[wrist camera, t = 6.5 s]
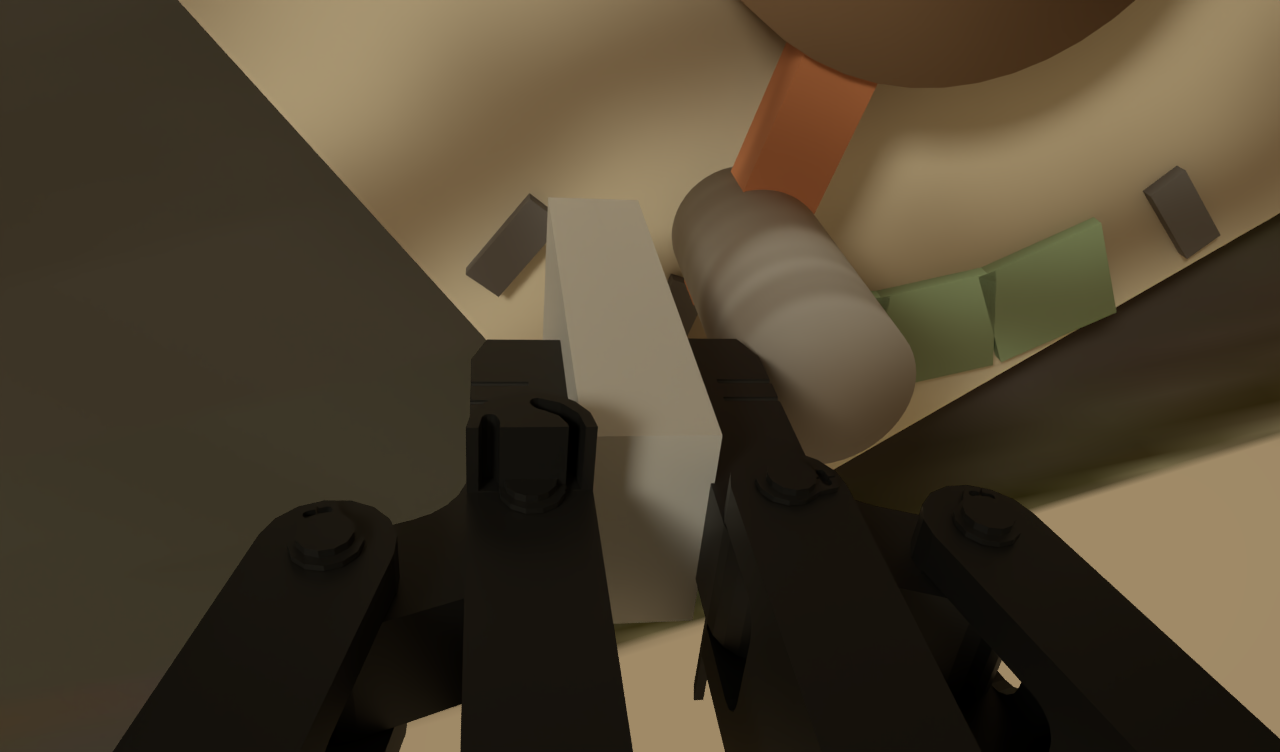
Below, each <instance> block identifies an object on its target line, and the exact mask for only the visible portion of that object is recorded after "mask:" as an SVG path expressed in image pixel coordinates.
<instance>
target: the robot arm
mask: <svg viewBox="0 0 1280 752" xmlns="http://www.w3.org/2000/svg"><path fill="white" fill-rule="evenodd" d="M466 477H467V481H466V484H465V486H464V487H463V489H462V491H461V492H460V494H459V495H458V496H457V497H456V498H455V499H453V500H452V501H451V502H450V503H449V504H448V505H446V506H444V507H443V508H441V509H439V510H437V511H435V512H434V513H432V514H429V515H426V516H423V517H420V518H417V519H414V520H411V521H407V522H403V523H399V524H395V525H392V523H391V520H390V519H389V518H388V517H386V516H385V515H384V514H382V513H381V512H380V511H378V510H377V509H376V508H374V507H372V506H368V505H364V504H361V503H357V502H354V501H320V502H316V503H312V504H307V505H303V506H299V507H297V508H295V509H293V510H291V511H289V512H287V513H285V514H283V515H281V516H279V517H277V518H275V519H274V520H273V521H272V522H271V523H270V524H269V525H268V526H267V527H266V528H265V529H264V530H263V531H262V532H261V533H260V534H259V535H258V537H257V538H256V540H255V541H254V543H253V544H252V546H251V547H250V548H249V550H248V551H247V553H246V554H245V556H244V557H243V559H242V560H241V562H240V563H239V565H238V566H237V568H236V569H235V571H234V572H233V574H232V575H231V577H230V578H229V580H228V581H227V583H226V584H225V586H224V587H223V589H222V590H221V592H220V593H219V595H218V596H217V598H216V599H215V601H214V602H213V603H212V605H211V606H210V608H209V609H208V611H207V612H206V614H205V615H204V617H203V618H202V620H201V621H200V623H199V624H198V626H197V627H196V629H195V630H194V632H193V633H192V635H191V636H190V638H189V639H188V641H187V642H186V644H185V645H184V647H183V648H182V650H181V651H180V653H179V654H178V656H177V657H176V659H175V660H174V661H173V663H172V664H171V666H170V667H169V669H168V670H167V672H166V673H165V675H164V676H163V678H162V679H161V681H160V682H159V684H158V685H157V687H156V688H155V690H154V691H153V693H152V694H151V696H150V697H149V699H148V700H147V702H146V703H145V705H144V706H143V708H142V709H141V711H140V712H139V714H138V715H137V716H136V718H135V719H134V721H133V722H132V724H131V725H130V727H129V728H128V730H127V731H126V733H125V734H124V736H123V737H122V739H121V740H120V742H119V743H118V745H117V746H116V748H115V749H114V751H113V752H399V750H400V747H401V744H402V742H403V739H404V737H405V734H406V727H407V723H408V722H411V721H414V720H416V719H419V718H422V717H425V716H428V715H431V714H434V713H437V712H440V711H443V710H446V709H448V708H451V707H454V706H457V705H460V704H462V712H461V715H462V716H461V752H633V749H632V743H631V736H630V729H629V723H628V717H627V711H626V704H625V697H624V690H623V683H622V677H621V670H620V664H619V657H618V651H617V644H616V638H615V631H614V623H642V622H666V621H690V620H693V613H694V607H695V601H696V595H697V589H698V591H699V595H700V598H701V602H702V606H703V610H704V614H705V617H706V618H705V624H704V629H703V635H702V641H701V647H700V653H699V659H698V664H697V670H696V676H695V682H694V700H703V697H704V692H705V686H706V681H707V680H708V684H709V688H710V692H711V696H712V700H713V704H714V708H715V712H716V717H717V720H718V725H719V729H720V733H721V737H722V741H723V745H724V749H725V752H1280V739H1279V738H1278V737H1277V736H1276V735H1275V734H1274V733H1273V732H1272V731H1271V730H1270V729H1268V728H1267V727H1266V726H1265V725H1264V724H1263V723H1262V722H1261V721H1260V720H1259V719H1258V718H1256V717H1255V716H1254V715H1253V714H1252V713H1251V712H1250V711H1249V710H1248V709H1247V708H1246V707H1244V706H1243V705H1242V704H1241V703H1240V702H1239V701H1238V700H1237V699H1236V698H1235V697H1234V696H1232V695H1231V694H1230V693H1229V692H1228V691H1227V690H1226V689H1225V688H1224V687H1223V686H1221V685H1220V684H1219V683H1218V682H1217V681H1216V680H1215V679H1214V678H1213V677H1212V676H1210V675H1209V674H1208V673H1207V672H1206V671H1205V670H1204V669H1203V668H1202V667H1201V666H1200V665H1199V664H1197V663H1196V662H1195V661H1194V660H1193V659H1192V658H1191V657H1190V656H1189V655H1188V654H1186V653H1185V652H1184V651H1183V650H1182V649H1181V648H1180V647H1179V646H1178V645H1177V644H1176V643H1175V642H1173V641H1172V640H1171V639H1170V638H1169V637H1168V636H1167V635H1166V634H1164V632H1162V631H1161V630H1160V629H1159V628H1158V627H1157V626H1156V625H1155V624H1154V623H1153V622H1152V621H1150V620H1149V619H1148V618H1147V617H1146V616H1145V615H1144V614H1143V613H1142V612H1141V611H1140V610H1138V609H1137V608H1136V607H1135V606H1134V605H1133V604H1132V603H1131V602H1130V601H1129V600H1127V599H1126V598H1125V597H1124V596H1123V595H1122V594H1121V593H1120V592H1119V591H1118V590H1117V589H1115V588H1114V587H1113V586H1112V585H1111V584H1110V583H1109V582H1108V581H1107V580H1106V579H1105V578H1103V577H1102V576H1101V575H1100V574H1099V573H1098V572H1097V571H1096V570H1095V569H1094V568H1093V567H1091V566H1090V565H1089V564H1088V563H1087V562H1086V561H1085V560H1084V559H1083V558H1082V557H1080V556H1079V555H1078V554H1077V553H1076V552H1075V551H1074V550H1073V549H1072V548H1070V547H1069V546H1068V545H1067V544H1066V543H1065V542H1064V541H1063V540H1062V539H1061V538H1060V537H1059V536H1058V535H1056V534H1055V533H1054V532H1053V531H1052V530H1051V529H1050V528H1049V527H1048V526H1047V525H1045V524H1044V523H1043V522H1042V521H1041V520H1040V519H1039V518H1038V517H1037V516H1036V515H1035V514H1034V513H1032V512H1031V511H1029V510H1028V509H1027V508H1025V507H1024V506H1022V505H1021V504H1020V503H1018V502H1017V501H1015V500H1014V499H1012V498H1009V497H1007V496H1004V495H1002V494H1000V493H997V492H995V491H993V490H989V489H984V488H979V487H974V486H969V485H962V486H946V487H944V488H941V489H939V490H936V491H934V492H931V493H930V495H929V496H928V497H927V499H926V500H925V502H924V503H923V505H922V508H921V511H920V514H919V515H917V514H912V513H907V512H902V511H897V510H892V509H887V508H882V507H877V506H873V505H870V504H866V503H863V502H859V501H857V500H854V499H853V497H852V495H851V493H850V491H849V489H848V487H847V485H846V484H845V482H844V481H843V480H842V479H841V477H840V476H839V475H838V474H837V472H836V471H834V470H833V469H831V468H830V467H828V466H827V465H825V464H824V463H822V462H820V461H819V460H817V459H814V458H811V457H808V456H806V455H805V453H804V451H803V449H802V447H801V445H800V443H799V440H798V438H797V436H796V434H795V432H794V430H793V428H792V426H791V423H790V421H789V419H788V417H787V415H786V413H785V411H784V409H783V406H782V404H781V402H780V401H778V396H777V394H776V392H775V389H774V387H773V385H772V383H770V379H769V377H768V375H767V372H766V370H765V368H764V366H763V364H762V362H761V360H760V358H759V357H758V356H757V355H756V354H754V353H753V352H752V351H751V350H750V349H748V348H747V347H746V346H745V345H743V344H742V343H741V342H740V341H739V340H737V339H696V338H687V335H686V332H685V330H684V327H683V324H682V321H681V318H680V316H679V313H678V310H677V307H676V305H675V302H674V299H673V296H672V293H671V291H670V288H669V285H668V282H667V280H666V277H665V274H664V271H663V268H662V266H661V263H660V260H659V257H658V254H657V252H656V249H655V246H654V243H653V241H652V238H651V235H650V232H649V229H648V227H647V224H646V221H645V218H644V215H643V213H642V210H641V207H640V204H639V202H638V200H617V199H586V198H555V197H548V213H547V239H546V265H545V291H544V317H543V340H496V339H487V340H486V342H485V343H484V344H483V345H482V347H481V348H480V349H479V350H478V351H477V353H476V354H475V355H474V356H473V358H472V359H471V394H470V418H469V421H468V424H467V426H466ZM1001 660H1002V661H1003V662H1004V663H1005V664H1006V665H1007V666H1008V667H1009V669H1010V670H1011V671H1012V672H1013V673H1014V674H1015V675H1016V676H1017V678H1018V679H1019V680H1020V681H1021V684H1020V687H1019V688H1015V687H1013V686H1012V685H1011V684H1009V683H1008V682H1007V681H1006V680H1005V679H1004V678H1003V677H1002V676H1001V675H1000V673H999V672H998V671H997V670H998V668H999V666H1000V663H1001Z"/></svg>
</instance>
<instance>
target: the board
mask: <svg viewBox="0 0 1280 752" xmlns="http://www.w3.org/2000/svg"><path fill="white" fill-rule="evenodd" d="M178 1H179V2H180V3H181V4H182V5H183V6H184V7H185V8H186V9H187V10H188V12H189V13H190V14H191V15H192V16H193V17H194V18H195V19H196V20H197V21H198V23H199V24H200V25H201V26H202V27H203V28H204V29H205V30H206V31H207V32H208V34H209V35H210V36H211V37H212V38H213V39H214V40H215V41H216V42H217V43H218V45H219V46H220V47H221V48H222V49H223V50H224V51H225V52H226V53H227V55H228V56H229V57H230V58H231V59H232V60H233V61H234V62H235V63H236V64H237V66H238V67H239V68H240V69H241V70H242V71H243V72H244V73H245V74H246V75H247V77H248V78H249V79H250V80H251V81H252V82H253V83H254V84H255V85H256V86H257V88H258V89H259V90H260V91H261V92H262V93H263V94H264V95H265V96H266V97H267V99H268V100H269V101H270V102H271V103H272V104H273V105H274V106H275V107H276V109H277V110H278V111H279V112H280V113H281V114H282V115H283V116H284V117H285V118H286V120H287V121H288V122H289V123H290V124H291V125H292V126H293V127H294V128H295V129H296V131H297V132H298V133H299V134H300V135H301V136H302V137H303V138H304V139H305V140H306V142H307V143H308V144H309V145H310V146H311V147H312V148H313V149H314V150H315V151H316V153H317V154H318V155H319V156H320V157H321V158H322V159H323V160H324V161H325V163H326V164H327V165H328V166H329V167H330V168H331V169H332V170H333V171H334V172H335V174H336V175H337V176H338V177H339V178H340V179H341V180H342V181H343V182H344V183H345V185H346V186H347V187H348V188H349V189H350V190H351V191H352V192H353V193H354V194H355V196H356V197H357V198H358V199H359V200H360V201H361V202H362V203H363V204H364V205H365V207H366V208H367V209H368V210H369V211H370V212H371V213H372V214H373V215H374V216H375V218H376V219H377V220H378V221H379V222H380V223H381V224H382V225H383V226H384V228H385V229H386V230H387V231H388V232H389V233H390V234H391V235H392V236H393V237H394V239H395V240H396V241H397V242H398V243H399V244H400V245H401V246H402V247H403V248H404V250H405V251H406V252H407V253H408V254H409V255H410V256H411V257H412V258H413V259H414V261H415V262H416V263H417V264H418V265H419V266H420V267H421V268H422V269H423V270H424V272H425V273H426V274H427V275H428V276H429V277H430V278H431V279H432V280H433V282H434V283H435V284H436V285H437V286H438V287H439V288H440V289H441V290H442V291H443V293H444V294H445V295H446V296H447V297H448V298H449V299H450V300H451V301H452V302H453V304H454V305H455V306H456V307H457V308H458V309H459V310H460V311H461V312H462V313H463V315H464V316H465V317H466V318H467V319H468V320H469V321H470V322H471V323H472V324H473V326H474V327H475V328H476V329H477V330H478V331H479V332H480V333H481V334H482V335H483V337H484V338H485V339H486V340H487V339H496V340H543V317H544V291H545V265H546V239H547V213H548V197H555V198H586V199H617V200H638V202H639V204H640V207H641V210H642V213H643V215H644V218H645V221H646V224H647V227H648V229H649V232H650V235H651V238H652V241H653V243H654V246H655V249H656V252H657V254H658V257H659V260H660V263H661V266H662V268H663V271H664V274H665V277H666V280H667V282H668V285H669V288H670V291H671V293H672V296H673V299H674V302H675V305H676V307H677V310H678V313H679V316H680V318H681V321H682V324H683V327H684V330H685V332H686V335H687V338H696V339H707V336H706V334H705V331H704V329H703V326H702V323H701V321H700V318H699V316H698V313H697V311H696V308H695V305H693V303H692V300H691V298H690V295H689V292H688V290H687V287H686V285H685V282H684V277H683V274H682V272H681V269H680V267H679V264H678V262H677V259H676V256H675V254H674V250H673V246H672V226H673V221H674V218H675V215H676V212H677V210H678V208H679V206H680V204H681V202H682V201H683V199H684V198H685V196H686V195H687V194H688V193H689V191H690V190H691V189H692V188H693V187H694V186H695V185H696V184H698V183H699V182H700V181H702V180H703V179H704V178H706V177H707V176H709V175H711V174H713V173H715V172H717V171H720V170H722V169H726V168H729V167H733V165H734V163H735V161H736V158H737V156H738V154H739V151H740V149H741V147H742V144H743V142H744V140H745V137H746V135H747V133H748V130H749V128H750V126H751V123H752V121H753V119H754V116H755V114H756V112H757V109H758V107H759V105H760V102H761V100H762V98H763V95H764V93H765V91H766V88H767V86H768V84H769V81H770V79H771V77H772V74H773V72H774V70H775V68H776V65H777V63H778V61H779V58H780V56H781V54H782V51H783V49H784V47H785V44H786V41H785V40H784V39H782V38H781V37H780V36H779V35H778V34H777V33H776V32H775V31H774V30H772V29H771V28H770V27H769V26H768V25H767V24H766V23H765V22H764V21H762V20H761V19H760V18H759V17H758V16H757V15H756V14H755V13H754V12H752V11H751V10H750V9H749V8H748V7H747V6H746V5H745V4H744V3H743V2H741V1H740V0H178ZM1279 213H1280V0H1135V1H1134V2H1133V3H1131V4H1130V5H1129V6H1128V7H1127V8H1126V9H1124V10H1123V11H1122V12H1121V13H1120V14H1119V15H1117V16H1116V17H1115V18H1114V19H1112V20H1111V21H1109V22H1108V23H1107V24H1105V25H1104V26H1102V27H1101V28H1099V29H1098V30H1096V31H1095V32H1094V33H1092V34H1091V35H1089V36H1088V37H1086V38H1085V39H1083V40H1082V41H1080V42H1078V43H1077V44H1075V45H1073V46H1071V47H1069V48H1067V49H1066V50H1064V51H1062V52H1060V53H1058V54H1056V55H1055V56H1053V57H1051V58H1049V59H1047V60H1045V61H1042V62H1040V63H1037V64H1035V65H1033V66H1030V67H1028V68H1025V69H1023V70H1020V71H1018V72H1015V73H1013V74H1009V75H1005V76H1002V77H998V78H995V79H991V80H987V81H984V82H980V83H974V84H967V85H960V86H953V87H946V88H907V87H900V86H892V85H885V84H877V86H876V88H875V90H874V92H873V95H872V97H871V99H870V101H869V103H868V105H867V107H866V109H865V111H864V113H863V115H862V117H861V119H860V121H859V123H858V125H857V127H856V130H855V132H854V134H853V136H852V138H851V140H850V142H849V144H848V146H847V148H846V150H845V152H844V154H843V156H842V158H841V160H840V162H839V165H838V167H837V169H836V171H835V173H834V175H833V177H832V179H831V181H830V183H829V185H828V187H827V189H826V191H825V193H824V195H823V197H822V200H821V202H820V204H819V206H818V208H817V210H816V212H815V214H814V215H815V216H816V218H817V219H818V221H819V222H820V223H821V225H822V226H823V227H824V229H825V230H826V231H827V233H828V234H829V235H830V237H831V238H832V240H833V241H834V242H835V244H836V245H837V246H838V248H839V249H840V250H841V252H842V253H843V254H844V256H845V257H846V259H847V260H848V261H849V263H850V264H851V265H852V267H853V268H854V269H855V271H856V272H857V274H858V275H859V276H860V278H861V279H862V280H863V282H864V283H865V284H866V286H867V287H868V288H869V290H870V291H871V293H872V294H873V295H874V297H875V298H876V299H877V301H878V302H879V303H880V305H881V306H882V307H883V309H884V310H885V312H886V313H887V314H888V316H889V317H890V318H891V320H892V321H893V322H894V324H895V325H896V327H897V328H898V329H899V331H900V332H901V333H902V335H903V336H904V337H905V339H906V341H907V342H908V344H909V345H910V347H911V350H912V352H913V355H914V359H915V363H916V383H915V387H914V392H913V395H912V398H911V400H910V403H909V405H908V407H907V409H906V411H905V412H904V414H903V415H902V417H901V418H900V420H899V421H898V422H897V423H896V425H895V426H894V427H893V428H892V429H891V430H890V431H889V432H888V433H887V434H886V435H885V436H884V437H883V438H882V439H880V440H879V441H878V442H876V443H875V444H874V445H872V446H871V447H869V448H867V449H866V450H864V451H862V452H860V453H858V454H856V455H854V456H851V457H849V458H846V459H844V460H840V461H836V462H833V463H827V464H825V465H827V466H828V467H830V468H831V469H833V470H834V469H835V468H837V467H839V466H841V465H842V464H844V463H846V462H848V461H849V460H851V459H853V458H854V457H856V456H858V455H860V454H861V453H863V452H865V451H867V450H868V449H870V448H872V447H874V446H875V445H877V444H879V443H881V442H882V441H884V440H886V439H888V438H889V437H891V436H893V435H894V434H896V433H898V432H900V431H901V430H903V429H905V428H907V427H908V426H910V425H912V424H914V423H915V422H917V421H919V420H921V419H922V418H924V417H926V416H928V415H929V414H931V413H933V412H935V411H936V410H938V409H940V408H941V407H943V406H945V405H947V404H948V403H950V402H952V401H954V400H955V399H957V398H959V397H961V396H962V395H964V394H966V393H968V392H969V391H971V390H973V389H975V388H976V387H978V386H980V385H981V384H983V383H985V382H987V381H988V380H990V379H992V378H994V377H995V376H997V375H999V374H1001V373H1002V372H1004V371H1006V370H1008V369H1009V368H1011V367H1013V366H1015V365H1016V364H1018V363H1020V362H1021V361H1023V360H1025V359H1027V358H1028V357H1030V356H1032V355H1034V354H1035V353H1037V352H1039V351H1041V350H1042V349H1044V348H1046V347H1048V346H1049V345H1051V344H1053V343H1055V342H1056V341H1058V340H1060V339H1062V338H1063V337H1065V336H1067V335H1068V334H1070V333H1072V332H1074V331H1075V330H1077V329H1079V328H1082V327H1084V326H1086V325H1088V324H1091V323H1093V322H1095V321H1098V320H1100V319H1102V318H1105V317H1107V316H1109V315H1112V314H1114V313H1116V307H1117V306H1119V305H1121V304H1122V303H1124V302H1126V301H1128V300H1129V299H1131V298H1133V297H1135V296H1136V295H1138V294H1140V293H1142V292H1143V291H1145V290H1147V289H1148V288H1150V287H1152V286H1154V285H1155V284H1157V283H1159V282H1161V281H1162V280H1164V279H1166V278H1168V277H1169V276H1171V275H1173V274H1175V273H1176V272H1178V271H1180V270H1182V269H1183V268H1185V267H1187V266H1189V265H1190V264H1192V263H1194V262H1195V261H1197V260H1199V259H1201V258H1202V257H1204V256H1206V255H1208V254H1209V253H1211V252H1213V251H1215V250H1216V249H1218V248H1220V247H1222V246H1223V245H1225V244H1227V243H1229V242H1230V241H1232V240H1234V239H1235V238H1237V237H1239V236H1241V235H1242V234H1244V233H1246V232H1248V231H1249V230H1251V229H1253V228H1255V227H1256V226H1258V225H1260V224H1262V223H1263V222H1265V221H1267V220H1269V219H1270V218H1272V217H1274V216H1275V215H1277V214H1279Z"/></svg>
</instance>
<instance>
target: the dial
mask: <svg viewBox="0 0 1280 752" xmlns="http://www.w3.org/2000/svg"><path fill="white" fill-rule="evenodd" d="M740 1H741V2H743V3H744V4H745V5H746V6H747V7H748V8H749V9H750V10H751V11H752V12H754V13H755V14H756V15H757V16H758V17H759V18H760V19H761V20H762V21H764V22H765V23H766V24H767V25H768V26H769V27H770V28H771V29H772V30H774V31H775V32H776V33H777V34H778V35H779V36H780V37H781V38H782V39H784V40H785V41H786V44H785V47H784V49H783V51H782V54H781V56H780V58H779V61H778V63H777V65H776V68H775V70H774V72H773V74H772V77H771V79H770V81H769V84H768V86H767V88H766V91H765V93H764V95H763V98H762V100H761V102H760V105H759V107H758V109H757V112H756V114H755V116H754V119H753V121H752V123H751V126H750V128H749V130H748V133H747V135H746V137H745V140H744V142H743V144H742V147H741V149H740V151H739V154H738V156H737V158H736V161H735V163H734V165H733V167H729V168H726V169H722V170H720V171H717V172H715V173H713V174H711V175H709V176H707V177H706V178H704V179H703V180H702V181H700V182H699V183H698V184H696V185H695V186H694V187H693V188H692V189H691V190H690V191H689V193H688V194H687V195H686V196H685V198H684V199H683V201H682V202H681V204H680V206H679V208H678V210H677V212H676V215H675V218H674V221H673V226H672V246H673V250H674V254H675V256H676V259H677V262H678V264H679V267H680V269H681V272H682V274H683V277H684V282H685V285H686V287H687V290H688V292H689V295H690V298H691V300H692V303H693V305H695V308H696V311H697V313H698V316H699V318H700V321H701V323H702V326H703V329H704V331H705V334H706V336H707V339H737V340H739V341H740V342H741V343H742V344H743V345H745V346H746V347H747V348H748V349H750V350H751V351H752V352H753V353H754V354H756V355H757V356H758V357H759V358H760V360H761V362H762V364H763V366H764V368H765V370H766V372H767V375H768V377H769V379H770V383H772V385H773V387H774V389H775V392H776V394H777V396H778V401H780V402H781V404H782V406H783V409H784V411H785V413H786V415H787V417H788V419H789V421H790V423H791V426H792V428H793V430H794V432H795V434H796V436H797V438H798V440H799V443H800V445H801V447H802V449H803V451H804V453H805V455H806V456H808V457H811V458H814V459H817V460H819V461H820V462H822V463H824V464H827V463H833V462H836V461H840V460H844V459H846V458H849V457H851V456H854V455H856V454H858V453H860V452H862V451H864V450H866V449H867V448H869V447H871V446H872V445H874V444H875V443H876V442H878V441H879V440H880V439H882V438H883V437H884V436H885V435H886V434H887V433H888V432H889V431H890V430H891V429H892V428H893V427H894V426H895V425H896V423H897V422H898V421H899V420H900V418H901V417H902V415H903V414H904V412H905V411H906V409H907V407H908V405H909V403H910V400H911V398H912V395H913V392H914V387H915V383H916V363H915V359H914V355H913V352H912V350H911V347H910V345H909V344H908V342H907V341H906V339H905V337H904V336H903V335H902V333H901V332H900V331H899V329H898V328H897V327H896V325H895V324H894V322H893V321H892V320H891V318H890V317H889V316H888V314H887V313H886V312H885V310H884V309H883V307H882V306H881V305H880V303H879V302H878V301H877V299H876V298H875V297H874V295H873V294H872V293H871V291H870V290H869V288H868V287H867V286H866V284H865V283H864V282H863V280H862V279H861V278H860V276H859V275H858V274H857V272H856V271H855V269H854V268H853V267H852V265H851V264H850V263H849V261H848V260H847V259H846V257H845V256H844V254H843V253H842V252H841V250H840V249H839V248H838V246H837V245H836V244H835V242H834V241H833V240H832V238H831V237H830V235H829V234H828V233H827V231H826V230H825V229H824V227H823V226H822V225H821V223H820V222H819V221H818V219H817V218H816V216H815V215H814V214H815V212H816V210H817V208H818V206H819V204H820V202H821V200H822V197H823V195H824V193H825V191H826V189H827V187H828V185H829V183H830V181H831V179H832V177H833V175H834V173H835V171H836V169H837V167H838V165H839V162H840V160H841V158H842V156H843V154H844V152H845V150H846V148H847V146H848V144H849V142H850V140H851V138H852V136H853V134H854V132H855V130H856V127H857V125H858V123H859V121H860V119H861V117H862V115H863V113H864V111H865V109H866V107H867V105H868V103H869V101H870V99H871V97H872V95H873V92H874V90H875V88H876V86H877V84H885V85H892V86H900V87H907V88H946V87H953V86H960V85H967V84H974V83H980V82H984V81H987V80H991V79H995V78H998V77H1002V76H1005V75H1009V74H1013V73H1015V72H1018V71H1020V70H1023V69H1025V68H1028V67H1030V66H1033V65H1035V64H1037V63H1040V62H1042V61H1045V60H1047V59H1049V58H1051V57H1053V56H1055V55H1056V54H1058V53H1060V52H1062V51H1064V50H1066V49H1067V48H1069V47H1071V46H1073V45H1075V44H1077V43H1078V42H1080V41H1082V40H1083V39H1085V38H1086V37H1088V36H1089V35H1091V34H1092V33H1094V32H1095V31H1096V30H1098V29H1099V28H1101V27H1102V26H1104V25H1105V24H1107V23H1108V22H1109V21H1111V20H1112V19H1114V18H1115V17H1116V16H1117V15H1119V14H1120V13H1121V12H1122V11H1123V10H1124V9H1126V8H1127V7H1128V6H1129V5H1130V4H1131V3H1133V2H1134V1H1135V0H740Z"/></svg>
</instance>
